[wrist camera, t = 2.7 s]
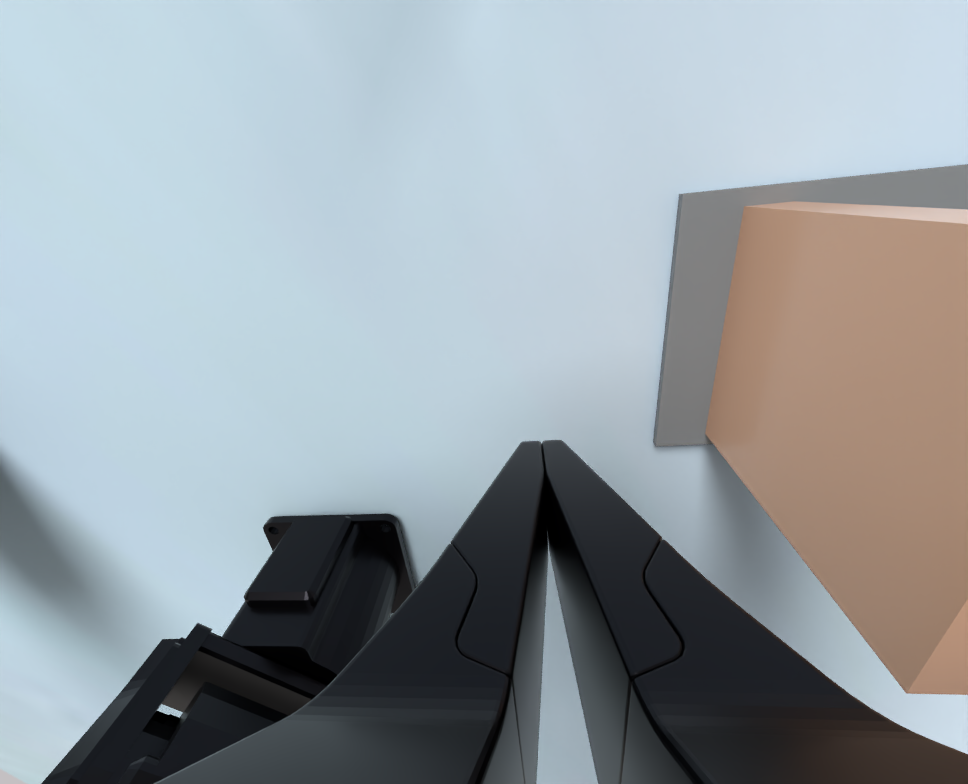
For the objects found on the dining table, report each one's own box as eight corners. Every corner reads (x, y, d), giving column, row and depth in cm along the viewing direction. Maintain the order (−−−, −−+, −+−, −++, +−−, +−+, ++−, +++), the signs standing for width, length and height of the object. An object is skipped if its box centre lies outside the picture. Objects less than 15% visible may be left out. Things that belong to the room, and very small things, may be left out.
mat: (1019, 426, 15) (1028, 431, 15) (652, 441, 16) (655, 446, 16) (1181, 142, 11) (1198, 141, 11) (679, 194, 12) (682, 194, 12)
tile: (750, 431, 15) (1005, 695, 7) (705, 433, 16) (906, 693, 8) (803, 200, 12) (1403, 226, 4) (744, 206, 12) (1198, 242, 4)
